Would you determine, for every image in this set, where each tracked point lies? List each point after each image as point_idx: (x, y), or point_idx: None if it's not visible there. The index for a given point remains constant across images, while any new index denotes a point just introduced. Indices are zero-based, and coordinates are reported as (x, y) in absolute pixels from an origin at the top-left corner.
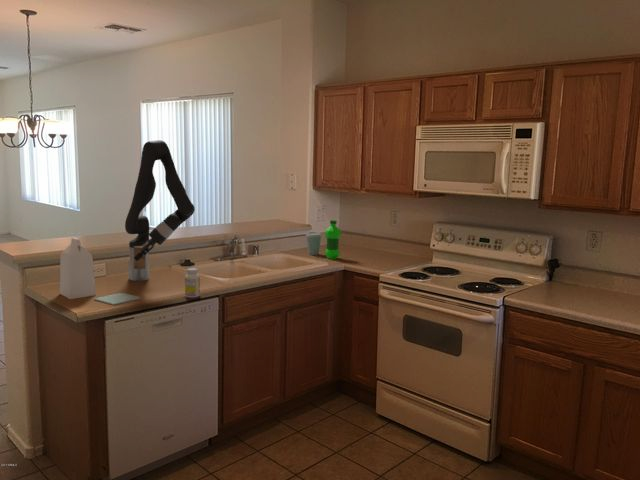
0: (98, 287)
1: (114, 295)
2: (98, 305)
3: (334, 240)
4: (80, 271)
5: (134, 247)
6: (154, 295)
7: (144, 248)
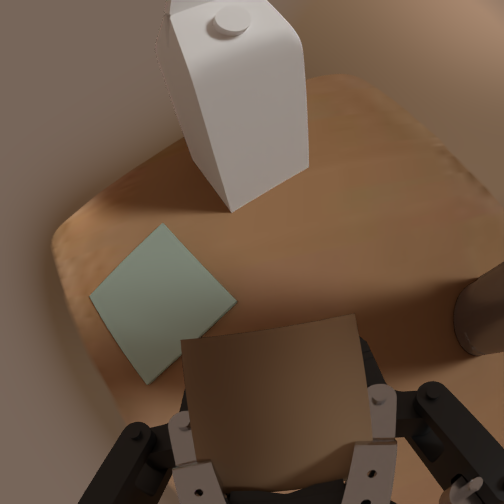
0: (349, 196)
1: (191, 281)
2: (102, 253)
3: None
4: (185, 114)
5: (245, 343)
6: None
7: (99, 471)
